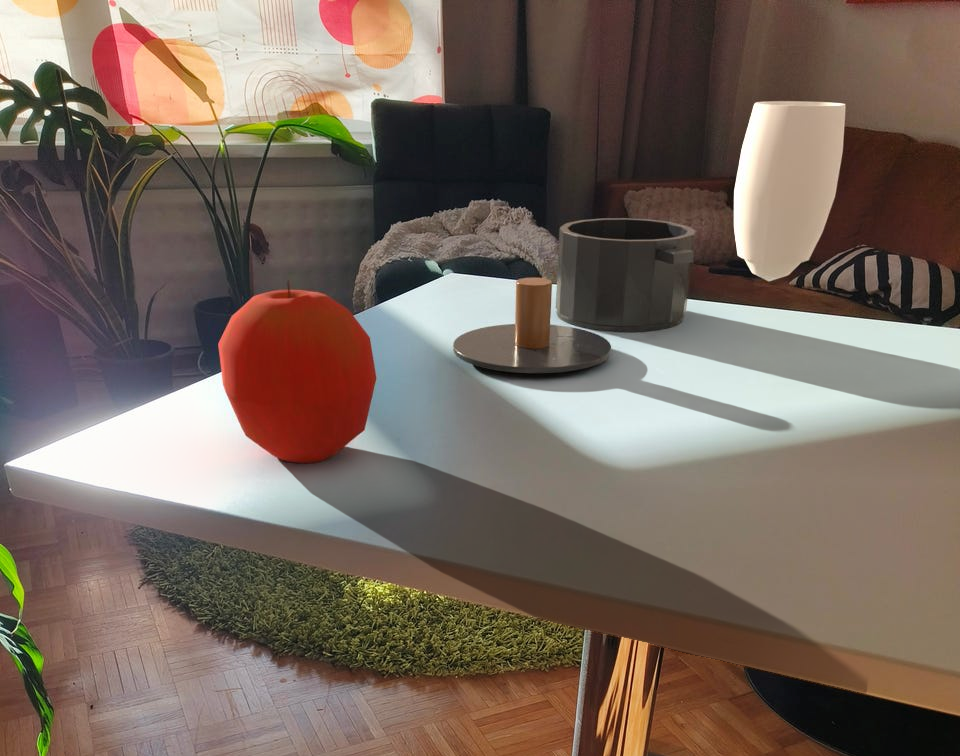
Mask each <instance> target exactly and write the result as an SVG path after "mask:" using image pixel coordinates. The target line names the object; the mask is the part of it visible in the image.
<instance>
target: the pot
mask: <svg viewBox="0 0 960 756" xmlns="http://www.w3.org/2000/svg"><path fill="white" fill-rule="evenodd" d="M558 229H559V230H558V231H559V232H558V235H559V236H558V249H557V250H558V251H557V272H556V273H557V275H556V290H555V291H556V292H555V294H556V295H555V309H556V316H557V317H558V318H559V319H560V320H561V321H563V322H565V323H567V324H570V325H573V326H576V327H581V328H585V329H590V330H597V331H607V332H623V333H625V332H629V333H630V332H631V333H632V332H633V333H635V332H637V333H638V332H652V331H659V330H664V329H669V328H673V327H675V326H677V325H679V324H682V323H683V321H684V319H685V314H686V312H687V304H688V298H689V297H688V296H689V289H690V282H691V281H690V280H691V272H692V266H693V263H694V257H695V251H694V250H695V241H696V236H697V235H696V234H697V230H695V229H694V228H692V227H691V226H689V225H686V224H682V223H677V222H672V221H666V220H656V219H649V218H648V219H647V218H646V219H645V218H631V217H630V218H629V217H628V218H627V217H621V218H620V217H619V218H618V217H616V218H615V217H614V218H611V217H609V218H608V217H607V218H604V217H603V218H591V219H580V220H575V221H570V222H566V223H564V224H563V225H561V226H560V227H559V228H558Z"/></svg>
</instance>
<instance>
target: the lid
mask: <svg viewBox="0 0 960 756" xmlns="http://www.w3.org/2000/svg"><path fill="white" fill-rule="evenodd" d="M552 292H553V281H552V280H551V279H548V278H544V277H523V278H518V279H517V280H516V281H515V311H514V312H515V313H514V315H515V316H514V323H511V324H510V323H509V324H498V325H491V326H485V327H480V328H476V329H473V330H470V331H467V332H465V333H462V334H461V335H459V336H457V337H456V339H454V341H453V344H452V349H453V350H452V351H453V353H454V355H455V356H456V357H457V358H458V359H460V360H461V361H463V362H465V363H468V364H470V365H473V366H475V367H480V368H483V369H488V370H493V371H500V372H505V373H517V374H556V373H566V372H574V371H579V370H584V369H587V368H591V367H594V366H597V365H600V364H601V363H603V362H605V361H607V360H608V359H609V358H610V356H611V353H612V345H611V343H610V341H608V339H607V338H605V337H603V336H601V335H599V334H597V333H595V332H592V331H589V330H586V329H581V328H577V327H571V326H566V325H558V324H551V317H552V316H551V314H552V295H553V294H552Z"/></svg>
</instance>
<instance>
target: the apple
mask: <svg viewBox="0 0 960 756" xmlns="http://www.w3.org/2000/svg"><path fill="white" fill-rule="evenodd" d="M286 284H287V289H278V290H272V291H267V292H264V293H260V294H256V295H254V296H252V297H251V298H250V299H249V300H248V301H246V303H244V305H242V306H241V307H240V308H238V310H237V311H236V312H235V313H233V314H232V315H231V316H230V319H229V321H228V323H227V324H226V327H225V329H224V331H223V334H222V335H221V337H220V339H219V342H218V352H219V363H220V372H221V380H222V386H223V388H224V392H225V394H226V396H227V399H228V401H229V403H230V405H231V408H232V410H233V412H234V414H235V416H236V419H237V421H238V423H239V426H240V428H241V430H242V432H243V433H244V435H245V437H246V438H248V440H251V441H252V442H253V443H255V444H256V445H258V446H259V447H260V448H262V449H263V450H265V451H266V452H267V453H269V454H270V455H271V456H273V457H275V458H277V459H278V460H281V461H286V462H291V463H300V464H311V463H320V462H322V461H325V460H327V459H330V458H332V457H333V456H335V455H336V454H337V453H338V452H339V451H341V450H342V449H343V448H344V447H346V446H347V445H348V444H349V443H351V442H352V441H353V440H355V439H356V438H357V437H358V436H359V435H360V434H362V433H363V432H364V431H365V430H366V425H367V421H368V416H369V414H370V408H371V404H372V400H373V395H374V391H375V387H376V382H377V372H376V366H375V360H374V353H373V349H372V342H371V336H369V334H368V333H367V332H366V330H365V329H364V328H363V326H362V325H361V324H360V322H359V321H358V320H357V318H356V317H355V316H354V314H353V313H352V312H351V311H350V310H349V309H348V308H347V307H345V306H344V305H342V304H340V303H339V302H337V301H336V300H335V299H333V298H332V297H330V296H329V295H327V294H325V293H321V292H319V291H312V290H311V291H310V290H303V289H291V288H290V280H289V279H288V280H287V281H286Z"/></svg>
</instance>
